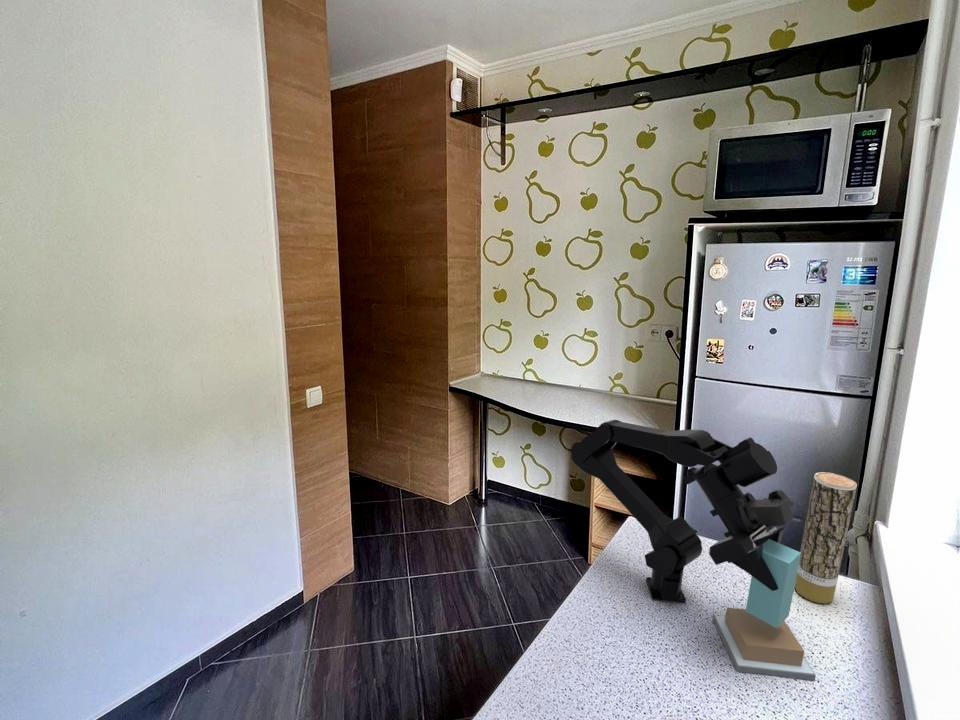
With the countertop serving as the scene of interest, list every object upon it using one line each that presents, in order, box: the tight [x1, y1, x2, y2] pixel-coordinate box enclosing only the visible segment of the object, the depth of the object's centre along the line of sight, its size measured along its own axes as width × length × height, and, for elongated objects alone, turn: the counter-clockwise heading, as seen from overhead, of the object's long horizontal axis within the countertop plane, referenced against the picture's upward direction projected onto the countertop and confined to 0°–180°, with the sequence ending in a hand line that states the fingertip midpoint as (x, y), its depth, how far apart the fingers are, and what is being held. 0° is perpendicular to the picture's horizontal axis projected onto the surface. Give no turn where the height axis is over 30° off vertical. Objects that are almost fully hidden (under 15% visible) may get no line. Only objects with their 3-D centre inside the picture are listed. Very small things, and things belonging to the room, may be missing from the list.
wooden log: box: [794, 471, 858, 604], centre depth 100 cm, size 7×7×25 cm
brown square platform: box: [712, 607, 817, 682], centre depth 88 cm, size 12×12×4 cm
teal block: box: [745, 539, 801, 628], centre depth 85 cm, size 5×5×12 cm
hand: (782, 583), depth 84 cm, fingers closed on teal block, 5 cm apart
